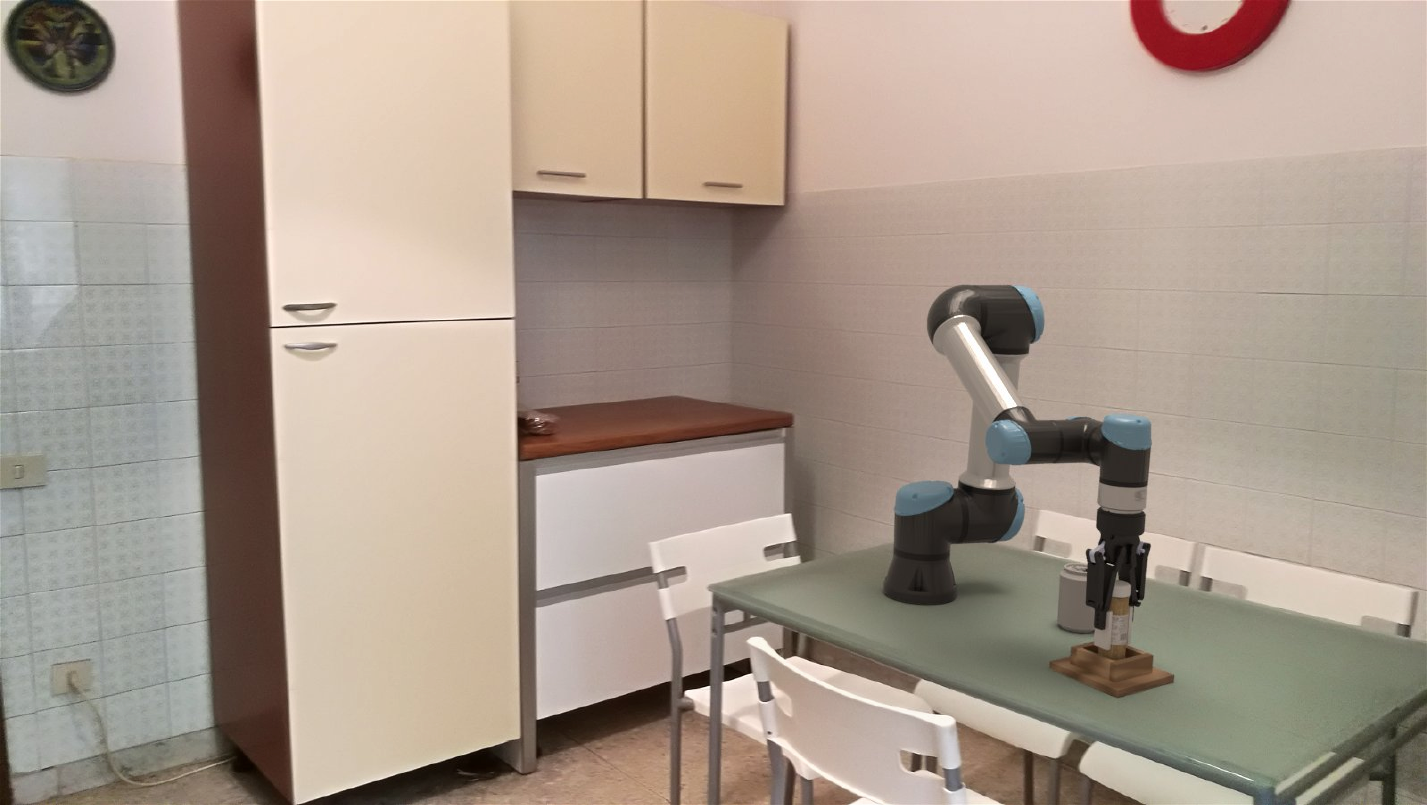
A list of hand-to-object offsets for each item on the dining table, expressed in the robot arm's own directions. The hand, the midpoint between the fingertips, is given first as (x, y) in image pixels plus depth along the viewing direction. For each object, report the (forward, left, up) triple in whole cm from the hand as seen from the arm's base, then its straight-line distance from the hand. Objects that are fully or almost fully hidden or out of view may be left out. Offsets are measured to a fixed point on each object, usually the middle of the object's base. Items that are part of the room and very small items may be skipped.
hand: (1112, 644), depth 174 cm
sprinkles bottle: (0, 0, -3) cm, 3 cm away
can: (-19, +14, -6) cm, 24 cm away
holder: (0, 0, -5) cm, 5 cm away
